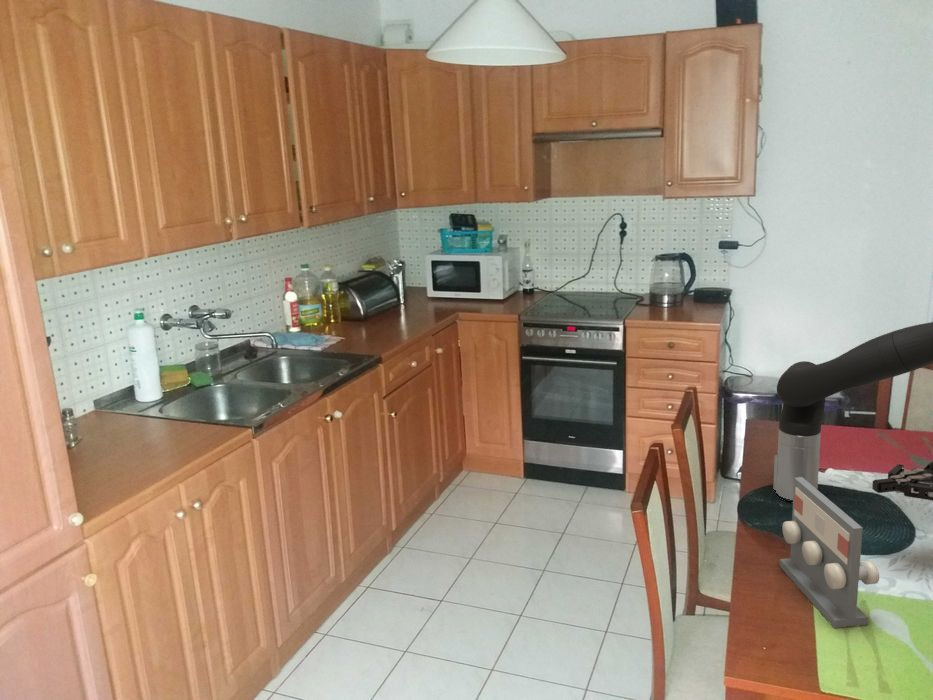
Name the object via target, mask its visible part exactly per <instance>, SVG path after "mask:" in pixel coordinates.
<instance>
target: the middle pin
mask: <svg viewBox="0 0 933 700" xmlns="http://www.w3.org/2000/svg"><path fill="white" fill-rule="evenodd" d="M802 552H803V557H804V559H805V561H806V563H807V564H808V565H819V564H821V562H822V559H823V548H822V547H820V546H819V544H818V543H817V542H816V541H805V542H804V543H803V545H802Z"/></svg>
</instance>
